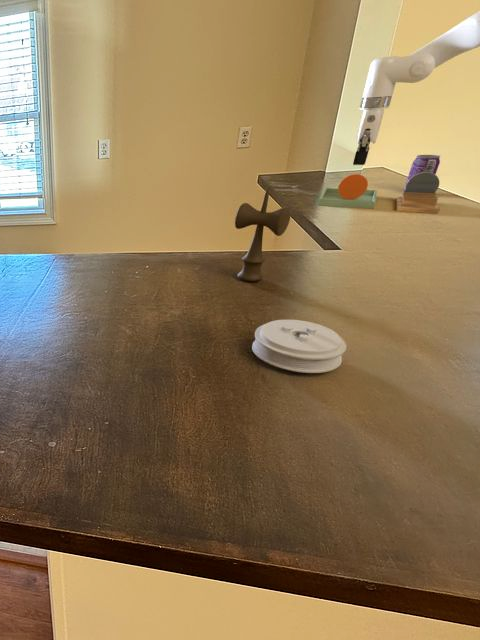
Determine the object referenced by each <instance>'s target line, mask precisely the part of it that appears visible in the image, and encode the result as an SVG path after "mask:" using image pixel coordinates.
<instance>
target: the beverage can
mask: <svg viewBox="0 0 480 640" xmlns="http://www.w3.org/2000/svg"><path fill="white" fill-rule="evenodd" d="M440 158H441V155H438V154H419V155H416V158H414V160H413V161H412V164H411V166H410V169H409V171H408V175H407V177H406V181H405V184H404V187H403V192H404V191H406V184H407V182H408V181H409V179H410V178H412V177H413V176H414V175H416V174H418V173H422V172H431V173H434V174H435V175H436V176H437V172H438V169H439V166H440V163H441V160H440Z"/></svg>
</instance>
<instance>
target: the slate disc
mask: <svg viewBox="0 0 480 640" xmlns="http://www.w3.org/2000/svg"><path fill="white" fill-rule="evenodd" d="M405 184H406V183H405ZM439 187H440V178H439V177H438V176H437V174H436V175H435V174H434V173H431V172H422V173H418V174H416V175H414V176H413V177H412V178H410V179H409V181H408V182H407V184H406V192H412V193H435V192H436V193H437V190H438V188H439Z"/></svg>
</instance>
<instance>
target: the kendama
mask: <svg viewBox="0 0 480 640" xmlns="http://www.w3.org/2000/svg"><path fill="white" fill-rule="evenodd" d="M270 190H271V189H270V187H267V188H266V189H265V192H264V195H263V200H262V205H261V209H260V210H258V209H256V208H255V207H253V206H252V205H251V204H249V203H248V202H244V203H242V204H241V205H239V207H238V209H237V210H236V214H235V217H234V227H235V228H236V229H237V230H240V229H245V228H247V227H250V226H256V227H255V231H254V235H253V237H252V241H251V243H250V246H249V249H248V250H247V253H246V254H245V255H243V256H242V257H241V260H242V262H243V267H242V270H241V271H239V272H238V273H237V278H238V279H240V280H242V281H245V282H259V281H261V280H263V279H264V275H263V273H262V265H263V263H265V261H266V258H265V257H264V256H263V240H264V239H263V237H264V229H265V228H268V229H269V230H270V231H271V232H272V233H273V234H274V235H275V236H277V237H280V236H282V235H283V234H284V233H285V232H286V231H287V228H288V226H289V223H290V220H291V215H292V209H291V207H290V206H288V205H286V206H283V207H280V208H279V209H276V210H274V211H270V212H268V211H267V208H268V203H269V197H270ZM264 227H265V228H264Z"/></svg>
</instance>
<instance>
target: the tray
mask: <svg viewBox="0 0 480 640" xmlns="http://www.w3.org/2000/svg"><path fill="white" fill-rule="evenodd" d="M377 191H378V189H367V190H366V191H365V193H364V194H363V195H361V196H360V197H358V198H356V199H345V198H343V197H341V196H340V194H339V192H338V188H334V187H333V188H332V187H325V188H324V190H323V192H322V193H321V195H320V198H319V200H318V203H317V206H323V207H337V208H339V207H340V208H341V207H342V208H358V209H374V208H375V204H376V200H377Z"/></svg>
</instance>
